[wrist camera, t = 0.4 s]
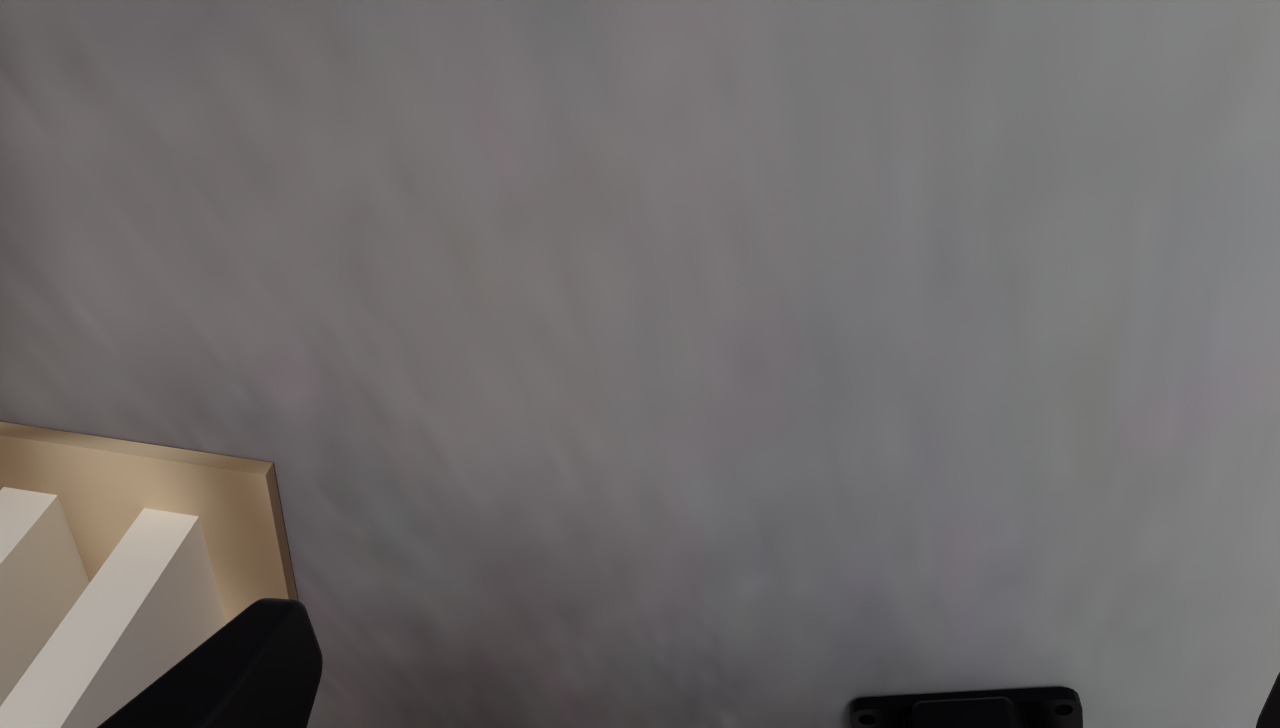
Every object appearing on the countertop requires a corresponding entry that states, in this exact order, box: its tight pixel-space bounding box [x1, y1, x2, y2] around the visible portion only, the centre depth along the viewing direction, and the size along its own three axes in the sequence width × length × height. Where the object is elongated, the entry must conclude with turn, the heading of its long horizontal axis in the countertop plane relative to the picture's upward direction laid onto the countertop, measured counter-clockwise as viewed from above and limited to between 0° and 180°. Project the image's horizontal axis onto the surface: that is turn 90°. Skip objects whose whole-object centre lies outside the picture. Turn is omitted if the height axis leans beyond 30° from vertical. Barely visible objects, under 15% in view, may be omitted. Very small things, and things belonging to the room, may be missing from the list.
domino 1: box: [0, 508, 226, 728], centre depth 26 cm, size 2×5×10 cm, turn 175°
